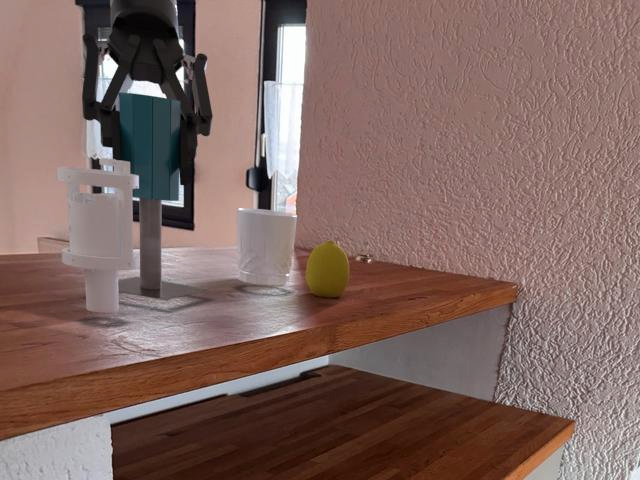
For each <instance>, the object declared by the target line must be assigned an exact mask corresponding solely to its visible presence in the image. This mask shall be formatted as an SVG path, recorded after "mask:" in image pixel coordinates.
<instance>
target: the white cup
mask: <svg viewBox="0 0 640 480" xmlns="http://www.w3.org/2000/svg"><path fill="white" fill-rule="evenodd" d="M297 221H298V215H297V214H295V213H291V212H286V211H279V210H271V209H263V208H249V207H239V208H237V209H236V265H237V268H238V269H237V279H238V280H239V281H241V282H244V283H247V284H253V285H259V286H273V287H274V286H275V287H277V286H278V287H279V286H280V287H281V286H287V285H289V283H290V273H291V270H292V266H293V265H292V263H293V256H294V249H295V240H296V231H297Z"/></svg>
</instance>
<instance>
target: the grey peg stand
mask: <svg viewBox="0 0 640 480" xmlns="http://www.w3.org/2000/svg"><path fill="white" fill-rule="evenodd" d="M138 201H139V202H138V203H139V207H138V208H139V211H138V212H139V215H138V216H139V276H134V277H127V278H122V279H118V291H119V292H118V293H122V294H128V295H135V296H139V297H146V298H151V299H157V300H163V301H170V300H174V299H177V298H181V297H186V296H189V295H192V294H193V295H194V294H196V293H201V292H205V291H209V288H206V287H200V286H193V285H189V284H188V285H187V284H181V283H175V282H169V281H164V280H162V249H163V248H162V247H163V246H162V244H163V243H162V239H163V237H162V235H163V233H162V232H163V231H162V230H163V228H162V226H163V225H162V223H163V222H162V221H163V220H162V218H163V217H162V216H163V215H162V213H163V211H162V210H163V209H162V208H163V206H162V205H163V203H162V201H163V200H152V199H143V198H138Z"/></svg>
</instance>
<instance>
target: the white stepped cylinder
mask: <svg viewBox="0 0 640 480" xmlns="http://www.w3.org/2000/svg"><path fill="white" fill-rule="evenodd" d="M98 160H99V165H101V166H107V167H113V166H114V171H113V170H104V169H96V168H83V167H72V166H71V167H70V166H69V167H68V166H57V181H59V182H62V183H66V192H67V193H66V194H67V195H66V196H67V217H68V235H69V236H68V238H69V239H68V240H69V241H68V242H69V246H67V247H63V248H61V262H62V264H65V265H66V266H69V267H74V268H75V267H76V268H79V269H81V268H82V269H84V281H85V283H84V285H85V287H84V288H85V304H86V306H85V307H86V308H85V309H86V310H87V311H88V312H91V313H99V314H100V313H102V314H111V313H112V314H113V313H117V312H119V311H120V304H119V293H120V292H119V291H118V280H119V271H132V270H138V269H140V253H137V252H134V217H133V215H134V210H133V209H134V207H133V205H134V204H133V203H134V202H133V198H134V197H132V189H136V188H137V189H138V188H139V176H138V175H134V174H130V162H128V161H121V160H116V159H113V158H108V157H102V158H99V159H98ZM81 185H82V186H90V187H100V188H109V189H110V188H111V189H113V190H114V191H113V192H112V193H111V192H110V193H109V192H100V193H88V192H81Z"/></svg>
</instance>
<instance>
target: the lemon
mask: <svg viewBox="0 0 640 480" xmlns="http://www.w3.org/2000/svg"><path fill="white" fill-rule="evenodd" d="M305 280H306V285H307V287H308V288H309V291H310V292H311V293H312V294H313V295H314V296H316V297H320V298H330V299H331V298H333V299H334V298H338V297H340V296H341V295H342V294H343V293H344V292H345V290H346V288H347V286H348V283H349V280H350V262H349V258H348V255H347V253H346V251H345V250H344V248H343V247H341V246H340V245H338V244H337V243H336V242H335V241H334V240H333V239H328V240H326V242H322V243H320V244H319V245H317V246H315V248H314V249H313V250H311V253H310V254H309V257H308V260H307V263H306V268H305Z"/></svg>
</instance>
